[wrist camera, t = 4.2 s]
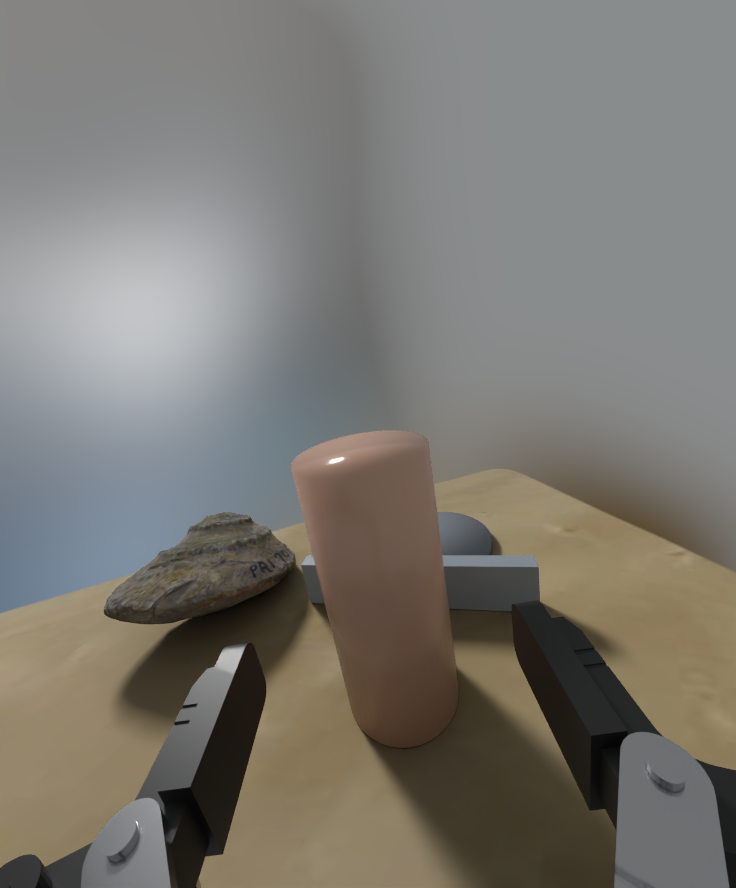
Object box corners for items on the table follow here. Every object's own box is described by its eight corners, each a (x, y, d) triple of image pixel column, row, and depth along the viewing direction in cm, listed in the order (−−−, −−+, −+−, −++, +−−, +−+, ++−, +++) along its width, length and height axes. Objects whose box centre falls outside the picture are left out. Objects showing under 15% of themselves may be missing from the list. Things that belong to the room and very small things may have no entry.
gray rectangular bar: (311, 602, 23) (300, 565, 22) (316, 592, 24) (307, 555, 23) (540, 612, 19) (538, 567, 18) (536, 599, 20) (534, 555, 19)
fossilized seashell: (320, 572, 23) (255, 495, 21) (180, 721, 19) (81, 641, 17) (276, 541, 32) (228, 485, 30) (175, 635, 28) (111, 577, 26)
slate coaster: (376, 578, 24) (375, 571, 24) (395, 519, 31) (394, 513, 31) (497, 581, 22) (496, 573, 22) (487, 516, 29) (487, 510, 29)
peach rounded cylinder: (334, 737, 15) (264, 482, 11) (364, 636, 20) (321, 436, 16) (459, 758, 13) (421, 473, 10) (458, 643, 18) (433, 425, 15)
